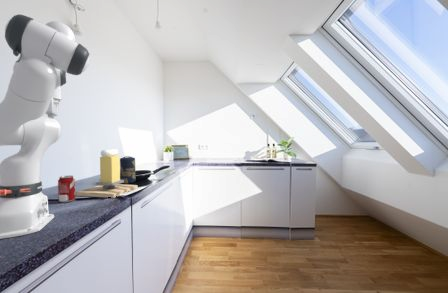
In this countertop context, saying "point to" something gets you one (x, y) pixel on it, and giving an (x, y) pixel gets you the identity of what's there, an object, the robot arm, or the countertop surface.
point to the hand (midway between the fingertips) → (51, 124)
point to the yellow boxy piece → (109, 168)
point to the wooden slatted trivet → (106, 190)
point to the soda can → (66, 189)
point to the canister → (127, 169)
